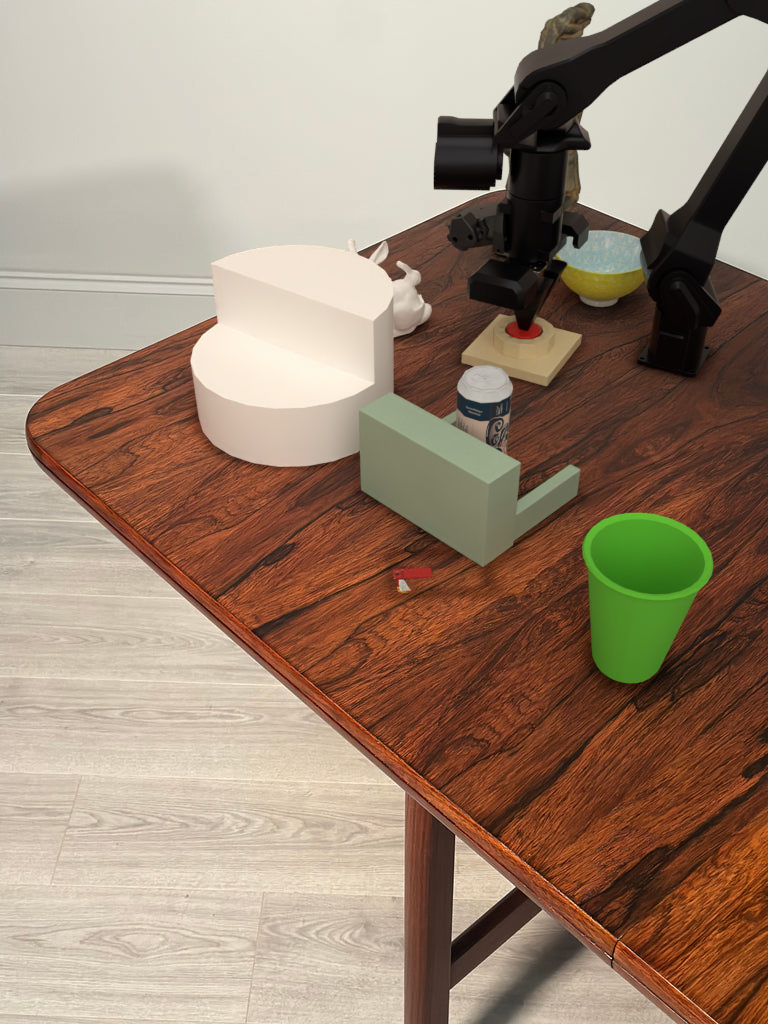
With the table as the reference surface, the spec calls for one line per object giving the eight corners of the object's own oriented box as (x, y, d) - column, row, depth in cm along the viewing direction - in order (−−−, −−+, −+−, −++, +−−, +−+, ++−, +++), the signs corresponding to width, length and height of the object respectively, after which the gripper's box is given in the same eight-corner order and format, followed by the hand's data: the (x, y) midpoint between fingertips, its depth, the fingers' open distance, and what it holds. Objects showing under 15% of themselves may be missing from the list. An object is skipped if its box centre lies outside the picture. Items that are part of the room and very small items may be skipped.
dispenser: (458, 430, 104) (462, 352, 98) (580, 496, 96) (591, 415, 90) (360, 490, 97) (358, 409, 91) (482, 567, 88) (488, 483, 83)
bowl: (530, 294, 126) (534, 246, 122) (598, 267, 131) (604, 221, 127) (598, 332, 119) (605, 282, 115) (667, 302, 124) (675, 254, 120)
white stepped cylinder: (157, 421, 105) (136, 303, 97) (284, 339, 118) (276, 228, 109) (311, 492, 96) (303, 369, 88) (431, 395, 109) (434, 278, 100)
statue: (528, 227, 140) (550, -17, 121) (586, 248, 135) (618, -3, 116) (475, 254, 134) (488, 2, 115) (533, 277, 129) (558, 17, 110)
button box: (499, 322, 120) (500, 299, 119) (580, 343, 117) (583, 320, 115) (461, 363, 114) (462, 338, 112) (546, 386, 110) (549, 362, 108)
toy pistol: (394, 594, 86) (391, 553, 90) (394, 597, 86) (391, 557, 90) (490, 590, 86) (482, 550, 90) (489, 594, 86) (482, 554, 90)
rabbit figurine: (334, 347, 116) (330, 268, 110) (321, 315, 122) (317, 238, 116) (437, 334, 118) (440, 255, 112) (420, 303, 124) (422, 226, 118)
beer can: (501, 506, 95) (510, 395, 87) (449, 500, 95) (453, 389, 88) (507, 474, 98) (516, 365, 91) (457, 469, 99) (462, 359, 91)
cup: (692, 632, 82) (719, 526, 75) (678, 718, 76) (706, 610, 69) (578, 606, 85) (595, 501, 78) (555, 687, 78) (571, 580, 71)
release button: (514, 331, 116) (515, 317, 115) (544, 339, 115) (545, 325, 114) (500, 346, 114) (502, 332, 113) (531, 354, 112) (532, 340, 111)
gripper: (500, 145, 113) (492, 277, 123) (420, 208, 100) (418, 349, 110) (598, 163, 108) (582, 299, 118) (528, 231, 96) (516, 376, 106)
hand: (524, 328), depth 113 cm, fingers closed, pressing on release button
